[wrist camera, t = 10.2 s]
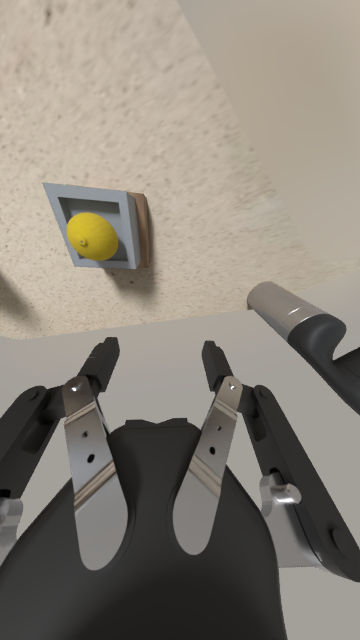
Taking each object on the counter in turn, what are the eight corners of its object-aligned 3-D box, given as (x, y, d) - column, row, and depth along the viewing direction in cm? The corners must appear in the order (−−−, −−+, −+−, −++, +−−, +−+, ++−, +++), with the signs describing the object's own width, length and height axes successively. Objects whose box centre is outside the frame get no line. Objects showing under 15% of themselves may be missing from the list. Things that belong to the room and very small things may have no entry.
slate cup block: (134, 198, 23) (126, 191, 18) (141, 260, 29) (135, 269, 23) (71, 192, 22) (42, 182, 16) (91, 258, 27) (74, 266, 22)
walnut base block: (146, 198, 26) (143, 193, 22) (149, 261, 34) (147, 267, 30) (81, 190, 25) (65, 184, 21) (99, 258, 32) (89, 264, 28)
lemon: (111, 261, 24) (92, 276, 17) (79, 234, 21) (42, 239, 15) (130, 237, 22) (117, 243, 15) (97, 203, 19) (65, 194, 13)
